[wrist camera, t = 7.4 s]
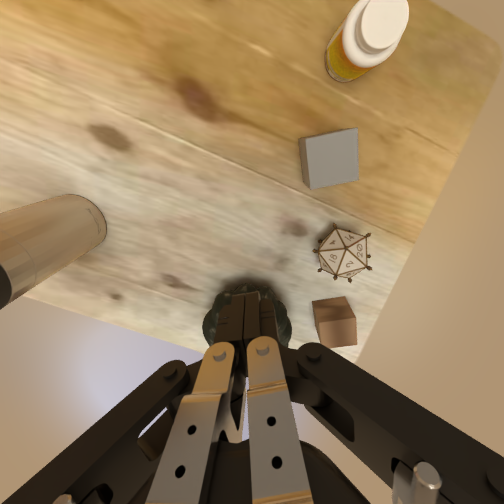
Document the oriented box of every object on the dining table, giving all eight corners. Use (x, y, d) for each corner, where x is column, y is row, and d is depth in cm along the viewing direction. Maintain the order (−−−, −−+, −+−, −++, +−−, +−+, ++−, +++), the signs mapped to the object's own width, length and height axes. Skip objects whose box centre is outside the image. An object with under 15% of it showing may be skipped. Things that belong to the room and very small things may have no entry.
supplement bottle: (354, 90, 32) (393, 71, 22) (315, 71, 31) (339, 43, 22) (379, 39, 29) (434, -6, 20) (338, 17, 29) (375, -40, 19)
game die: (322, 227, 44) (325, 207, 34) (373, 242, 41) (391, 224, 32) (306, 275, 43) (304, 268, 33) (356, 292, 40) (370, 290, 31)
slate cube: (303, 181, 37) (310, 189, 31) (298, 138, 34) (305, 139, 29) (344, 173, 36) (358, 180, 31) (341, 129, 34) (357, 127, 28)
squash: (225, 372, 47) (271, 415, 34) (175, 318, 42) (206, 344, 30) (272, 318, 53) (325, 337, 40) (232, 265, 48) (279, 267, 35)
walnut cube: (315, 325, 48) (322, 349, 43) (311, 301, 46) (318, 322, 40) (346, 321, 48) (357, 344, 42) (344, 295, 45) (356, 317, 40)
